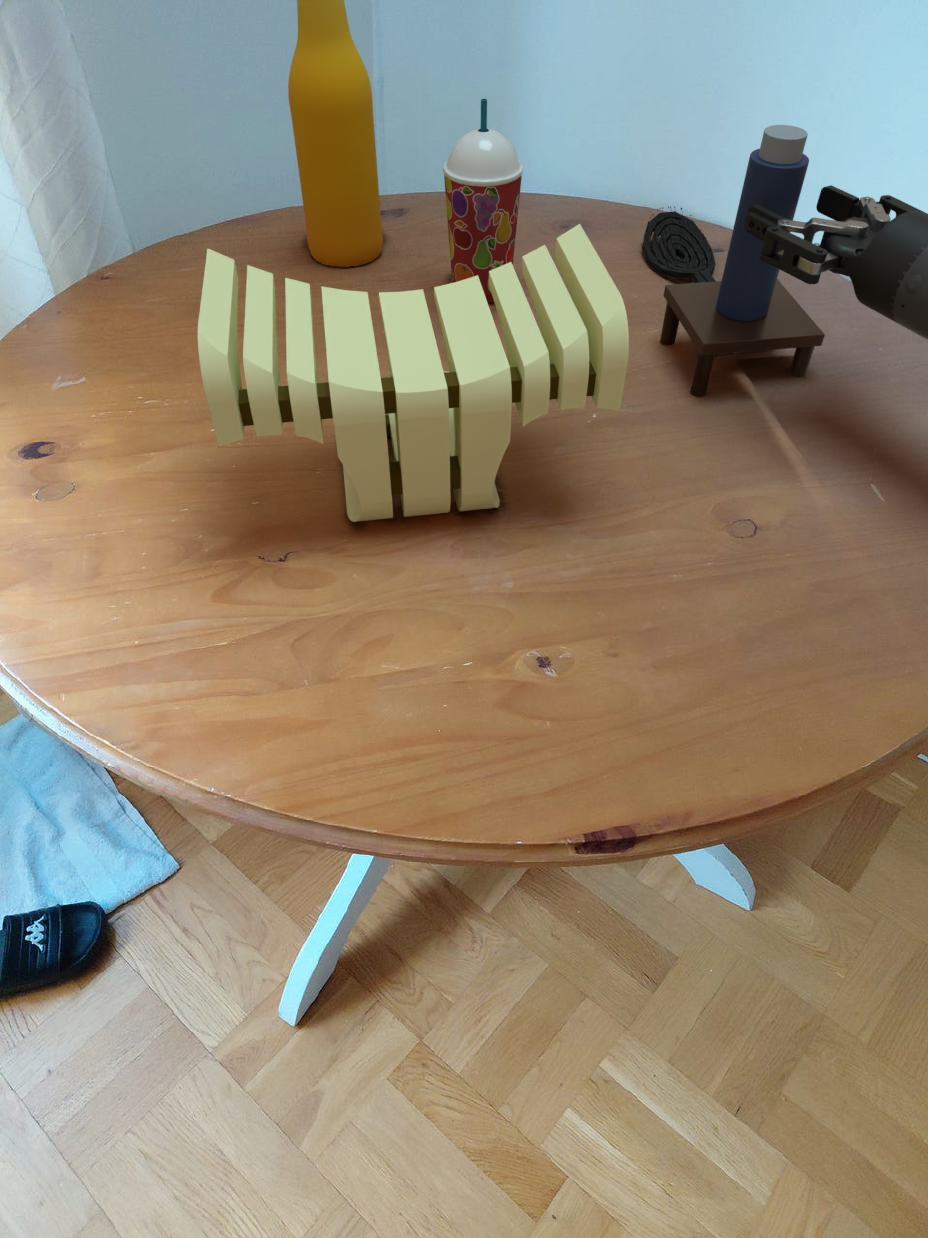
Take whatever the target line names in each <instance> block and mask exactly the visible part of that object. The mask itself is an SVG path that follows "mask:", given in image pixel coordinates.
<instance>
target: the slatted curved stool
mask: <svg viewBox="0 0 928 1238" xmlns="http://www.w3.org/2000/svg"><path fill="white" fill-rule="evenodd" d="M555 239H556V240H555V241H556V242H555V254H554V260H553V258H552V255H551V254H550V252H549V249H548V247H547V246H546V244H543V245H542V246H540V247H537V248H535V249H534V250H532V251H530V252H528V253H526V254H524V255H522V258H521V274H522V277H523V279H524V282H525V284H526V288H527V289H528V292H529V295H530V298H531V300H532V303H533V307H534V308H535V312H536V316H537V319H538V323H537V320H536V319H535V315H534V313H533V310H532V308H531V306H530V304H529V300H528V299H527V296H526V293H525V292H524V290H523V289H524V288H523V287H522V284H521V282H520V280H519V277H518V275H517V272H516V270H515V267H514V264H513V265H512V263H511V262H510V263H507V264H505V265H502V266H500V267H498V268H495V269H493V270H491V271H489V288H490V291H491V293H492V296H493V299H494V306H495V308H496V312H497V316H498V319H499V322H500V326H501V329H502V335H503V338H504V342H505V346H506V351H507V355H506V352H505V349H504V346H503V343H502V341H501V340H502V339H501V337H500V335H499V332H498V329H497V326H496V323H495V320H494V317H493V314H492V312H491V309H490V305H489V303H487V300H486V297H485V294H484V291H483V288H482V286H481V283H480V280H479V277H478V275H477V276H474V277H471V278H468V279H464V280H461V281H458V282H454V283H452V282H450V283H447V284H443V285H437V286H434V287H433V297H434V298H433V299H434V304H435V308H436V312H437V316H438V320H439V324H440V330H441V333H442V338H443V342H444V343H443V344H444V348H445V353H446V358H447V364H448V370H449V371H448V372H444V368H443V363H442V361H441V356H440V352H439V348H438V343H437V340H436V335H435V331H434V328H433V324H432V320H431V315H430V311H429V307H428V304H427V300H426V296H425V295H426V294H425V292H424V289H423V288H422V289H421V288H420V289H413V290H404V291H403V290H402V291H379V292H378V302H379V309H380V314H381V315H380V316H381V320H382V326H383V334H384V340H385V347H386V354H387V361H388V368H389V376H386V377H381V372H380V371H381V370H380V366H379V364H380V363H379V358H378V353H377V352H378V351H377V345H376V337H375V331H374V326H373V325H374V324H373V320H372V319H373V318H372V313H371V306H370V305H371V304H370V299H369V293H368V291H360V290H347V289H340V288H334V287H328V286H322V285H321V286H320V287H321V300H322V313H323V314H322V315H323V326H324V338H325V340H324V341H325V349H326V350H325V352H326V362H327V363H326V365H327V366H326V367H327V376H328V377H327V378H328V381H327V382H319V375H318V367H317V355H316V344H315V342H316V341H315V331H314V316H313V303H312V302H313V300H312V299H313V298H312V292H311V285H310V283H307V282H304V281H300V280H298V279H297V280H296V279H293V278H288V277H284V282H285V283H284V286H285V287H284V288H285V338H286V339H285V345H286V348H285V350H286V351H285V352H286V356H285V357H286V379H287V385H281V384H282V383H281V377H280V367H279V355H278V353H279V352H278V338H277V335H278V334H277V303H276V302H277V300H276V299H277V298H276V296H277V295H276V284H275V278H274V273H272V272H269V271H266V270H263V269H260V268H258V267H255V266H252V265H249V264H246V265H247V266H246V286H245V303H244V304H245V306H244V324H243V325H244V327H243V343H242V344H243V345H242V346H243V347H242V362H243V363H242V364H243V371H244V378H245V386H246V388H243V384H242V383H243V382H242V377H241V369H240V358H239V356H240V355H239V342H238V341H239V340H238V311H239V310H238V309H239V308H238V306H239V284H240V283H239V276H238V270H237V266H236V265H237V264H236V261H235V259H233V258H232V257H230V256H227V255H224V254H222V253H220V252H217V251H215V250H213V249H210V248H208V247H207V248H206V256H205V257H206V258H205V265H204V274H203V280H202V281H203V282H202V290H201V298H200V306H199V314H198V321H197V349H198V350H197V351H198V360H199V368H200V373H201V380H202V386H203V390H204V395H205V399H206V403H207V408H208V411H209V415H210V418H211V423H212V426H213V431H214V434H215V438H216V443H217V446H218V448H220V447H222V446H225V445H229V444H232V443H236V442H240V441H243V440H245V427H249V426H253V427H254V431H255V436H256V438H257V437H267V436H283V435H284V427H283V426H284V423H293V425H294V432H295V436H296V437H301V438H305V439H308V440H312V441H315V442H317V443H320V444H322V445H325V443H324V427H323V420H331V419H332V421H333V429H334V437H335V443H336V451H337V459H338V460H339V461H340V463H341V464H342V469H343V480H344V493H345V494H344V495H345V504H346V514H347V517H348V519H349V521H350V522H353V523H355V522H365V521H377V520H385V519H393V518H394V507H393V496H397V495H398V496H399V498H400V504H401V510H402V515H403V517H404V518H406V517H416V516H427V515H436V514H437V515H438V514H447V513H450V511H451V490H453V494H454V499H455V503H456V507H457V510H458V511H459V512H466V511H477V510H487V509H496V508H499V507H500V497H499V494H498V490H497V486H496V482H495V481H496V477H497V474H498V472H499V468H500V465H501V462H502V460H503V457H504V456H505V453H506V451H507V449H508V447H509V445H510V443H511V433H512V414H513V413H512V412H513V411H512V409H513V404H515V408H516V411H517V414H518V416H519V420H520V422H521V425H522V427H524V426H526V425H528V424H529V423H531V422H532V421H534V420H536V419H539V418H541V417H543V416H545V415H548V414H549V409H550V400H551V401H552V400H556V402H557V405H558V407H559V409H560V411H565V410H573V409H586V404H587V397H591V398H592V401H593V403H594V405H595V407H596V409H600V410H610V411H616V412H621V410H622V404H623V398H624V397H623V396H624V392H625V391H624V390H625V385H626V384H625V383H626V378H627V370H628V365H629V364H628V363H629V354H630V353H629V352H630V347H629V346H630V336H629V335H630V334H629V321H628V315H627V309H626V306H625V302H624V299H623V296H622V294H621V292H620V291H619V289H618V287H617V285H616V283H615V282H614V280H613V279H612V277H611V275H610V274H609V272H608V269H607V268H606V266H605V264H604V263H603V261H602V260H601V258H600V256H599V254H598V253H597V251H596V249H595V247H594V245H593V244H592V243H591V240H590V238H589V237H588V235H587V233H586V232H585V229H584V228H583V226H582V224H581V223H578V224H577V225H575V226H574V227H571V228H570V229H569V230H567V231H565V232H564V233H562V234H560V235H559V236H557V237H556V238H555ZM554 261H555V262H554ZM557 266H558V267H557ZM558 268H559V270H558ZM559 271H560V272H559ZM561 275H562V276H561ZM564 282H565V283H564ZM538 325H539V326H538ZM388 437H389V438H390V439H391V446H392V453H393V458H394V460H393V461H390V459H389V446H388Z"/></svg>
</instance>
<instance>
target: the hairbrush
mask: <svg viewBox="0 0 928 1238" xmlns="http://www.w3.org/2000/svg"><path fill="white" fill-rule="evenodd" d="M667 208H668V209H672V206H669V205H668V207H667ZM673 208H674V209H676V205H675V206H674V207H673ZM661 209H662V210H664V207H663V206H662V207H659V208H657V209H656V210H657V211H659V210H660V212H659V213H658V212H657V214H656V215H655V213H652V216H649V219H650V220H648V221H647V224H646V228H645V230H644V235H643V240H642V246H641V249H642V250H641V251H642V253H643V255H644V258H645V260H646V263H647V265H648V268H649V269H651V270H653V271H654V272H656V273H657V274H658V275H660V276H662V277H667V278H672V279H677V280H691V281H692V283H701V282H715V281H716V279H715V278H714V277H713V275H714V270H715V268H716V264H717V263H716V260H715V255H714V252H713V248H712V247H711V245H710V243H709V242H708V239H707V237H706V236H705V234H704V232H703V231H702V229H701V228H699V227H698V225H697V224H696V223H695V221H694V220H692V218H691V219H690V218H688V217H687V215H686V216H685V215H684V213H683V211H681V213H679V212H677V211H676V210H674V211H665V212H664V211H661ZM680 210H683V207H680ZM654 215H655V216H654ZM689 216H690V217H692V214H690V215H689ZM651 218H652V219H651Z"/></svg>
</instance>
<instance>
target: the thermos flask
mask: <svg viewBox="0 0 928 1238" xmlns="http://www.w3.org/2000/svg"><path fill="white" fill-rule="evenodd" d="M762 133H763V134H762V137H761V138H762V139H761V142H760V147H759V148H756V149H755V150H752V151H751V152H750V154H749V159H748V162H747V167H746V171H745V176H744V179H743V180H744V181H743V185H742V189H741V193H740V199H739V202H738V208H737V211H736V214H735V215H736V216H735V219H734V224H733V230H732V233H731V238H730V242H729V247H728V250H727V256H726V260H725V265H724V268H723V273H722V278H721V281H722V282H721V286H720V290H719V295H718V299H717V304H716V308H717V310H718V312H719V313H720V314H722V315H723V316H725V317H727V318H730V319H733V320H738V321H756V320H760V319H762V318H764V317H765V316H766V315H767V313H768V310H769V306H770V302H771V299H772V295H773V292H774V288H775V284H776V281H777V279H778V277H779V273H780V271H781V270H780V269H778V268H776V267H774V266H772V265H770V264H768V263H766V262H764V261H762V260H761V259H760V254H761V250H762V246H763V242H764V241H762V240H760V239H759V238H757V237H755V236H753V235H751V234H749V233H748V232H746V230H745V222H746V218H747V213H748V209H749V208H750V207H751V206H754V205H761V206H763V207H765V208H767V209H769V210H771V211H773V212H775V213H777V214H778V215H780V216H782V217H784V218H786V219H788V220H793V221H794V220H795V219H794V218H795V214H796V210H797V208H798V204H799V200H800V197H801V193H802V189H803V185H804V182H805V178H806V174H807V172H808V171H807V170H808V167H809V164H810V159H809V157H808V156H807V155H806V154H804V150H805V147H806V143H807V139H808V134H809V133H808V131H807V130H805V129H803V128H801V127H799V126H795V125H789V124H773V125H768V126H767V127H765V128H764V129H763V132H762ZM779 255H780V254H779ZM781 256H783V255H781Z"/></svg>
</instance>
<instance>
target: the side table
mask: <svg viewBox="0 0 928 1238" xmlns="http://www.w3.org/2000/svg"><path fill="white" fill-rule="evenodd" d="M721 282H722V280H715V282H701V283H694V282H688V283H675V284H665V285H664V291H663V297H664V299H665V300H666V305H665V310H664V311H665V312H664V316H663V322H662V327H661V333H660V340H659V343H660V344H661V345H663V346H665V347H672V346H674V345H675V344H676V341H677V340H676V339H677V335H678V330H679V326H680V325H679V324H680V323H681V326H682V327H683V330H685V332H686V334H687V335H688V337H689V338H690V340H691V342H692V343H693V344H694V346H695V348H696V350H697V352H698V353H697V357H696V362H695V365H694V369H693V370H694V371H693V375H692V379H691V385H690V389H689V394H690V395H691V396H692V397H695V398H704V397H705V396H706V395H707V392H708V388H709V383H710V380H711V374H712V371H713V367H714V362H715V358H716V355H723V354H733V353H735V354H736V353H747V352H760V351H772V350H773V351H774V350H784V349H785V350H786V349H795V351H794V353H793V357H792V361H791V363H790V367H789V369H788V373H789V375H790V376H792V377H795V378H804V377H805V376H806V375H807V372H808V369H809V366H810V363H811V360H812V356H813V353H814V351H815V347H821V346H822V345H823V342H824V339H825V336H826V334H825V333H824V332H823V330H822V329H821V328H820V326H818V324H817V323H816V322H815V321H814V320H813V319H812V318H811V316H810V315H809V314H808V313H807V312H806V311H805V309H804V308H803V307H802V305H801V304H799V302H798V301H797V300H796V299H795V297H794V296H793V295H792V294H791V293H790V291H788V290H787V288H786V287H785V286H784V284H783V283H782V282H781V281H780V280H779V279H778V278H777V281H776V284H775V288H774V292H773V295H772V299H771V302H770V306H769V310H768V313H767V315H766V316H765V317H764V318H762V319H760V320H756V321H738V320H733V319H730V318H727V317H725V316H723V315H722V314H720V313H719V312H718V310H717V308H716V304H717V299H718V295H719V290H720V286H721Z"/></svg>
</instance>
